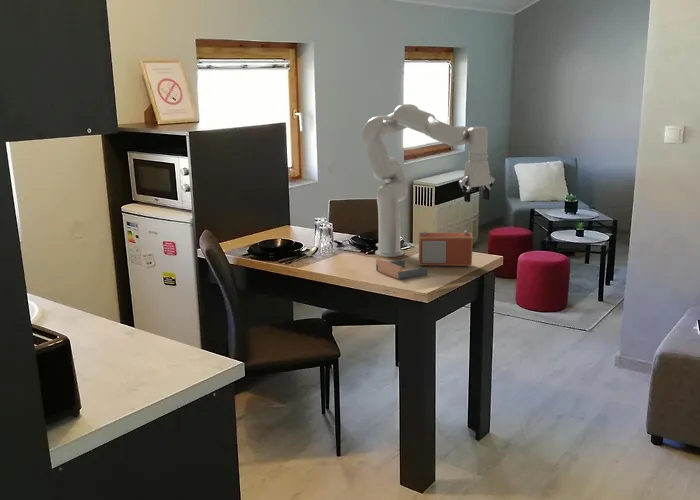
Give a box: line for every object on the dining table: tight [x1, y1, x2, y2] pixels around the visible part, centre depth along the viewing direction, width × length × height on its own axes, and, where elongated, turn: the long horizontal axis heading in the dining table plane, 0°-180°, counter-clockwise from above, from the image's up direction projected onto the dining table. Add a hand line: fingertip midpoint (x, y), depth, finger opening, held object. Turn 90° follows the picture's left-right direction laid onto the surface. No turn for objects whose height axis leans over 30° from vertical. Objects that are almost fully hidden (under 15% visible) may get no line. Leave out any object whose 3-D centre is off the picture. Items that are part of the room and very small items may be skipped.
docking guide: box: [375, 258, 428, 281], centre depth 260 cm, size 16×13×5 cm
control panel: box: [418, 229, 474, 266], centre depth 268 cm, size 21×7×15 cm, turn 85°
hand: (476, 200), depth 266 cm, fingers open, 9 cm apart
